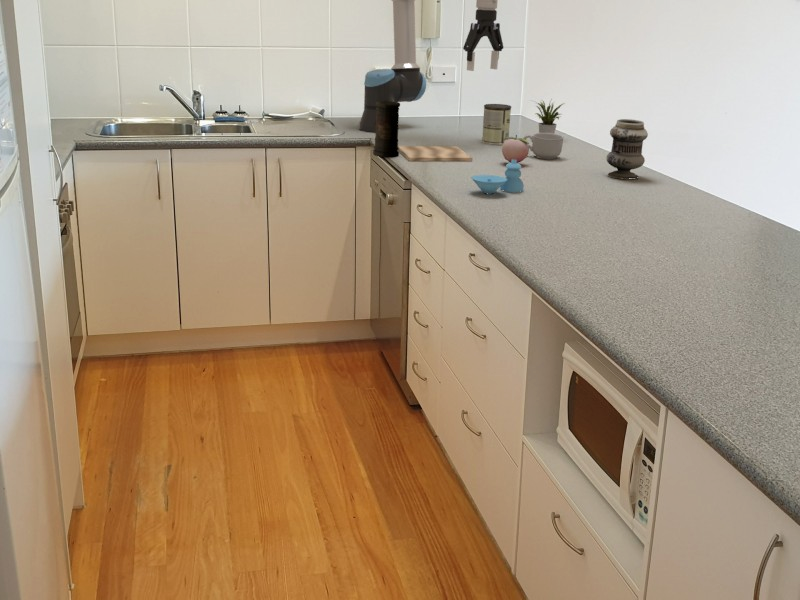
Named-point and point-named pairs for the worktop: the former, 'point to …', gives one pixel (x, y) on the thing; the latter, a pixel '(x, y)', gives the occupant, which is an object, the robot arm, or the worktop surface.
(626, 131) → the apothecary jar
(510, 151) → the decorative fruit
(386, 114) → the container
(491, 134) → the coffee can
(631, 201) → the worktop surface
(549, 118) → the house plant
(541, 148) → the teacup
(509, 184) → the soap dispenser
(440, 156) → the wooden cutting board
